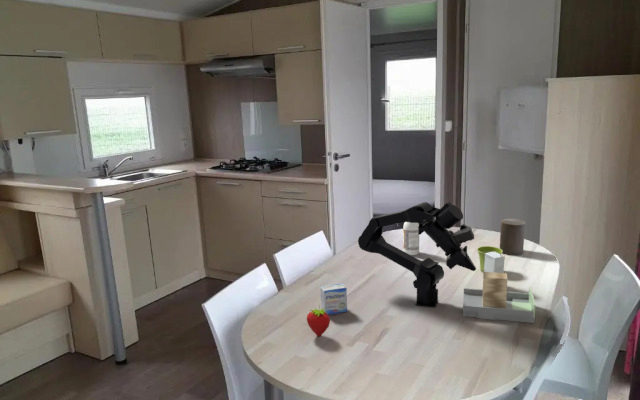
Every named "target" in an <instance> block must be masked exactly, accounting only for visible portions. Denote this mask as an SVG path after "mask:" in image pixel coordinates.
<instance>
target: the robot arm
mask: <svg viewBox="0 0 640 400" xmlns="http://www.w3.org/2000/svg"><path fill="white" fill-rule="evenodd" d="M463 219H464V214H463V211H462V209H460V207H458V206H456V205H455V204H452V203H451V202H450V201H448V202H446V203H444V205H443V206H441V208H438V207H435V206H432V204H430V203H429V202H427V201H425V202H421V203H418V204H416V205H413V206H411V207H409V208H407V209H405V210H399V211H395V212H391V213H385V214H382V215H376V216H374V217H372V218H370V220H369V222H368V224H367V226H366V227H365V228H364V229H363V231H362V233H361V235H360V236H359V237H358V240H357V242H358V247H359V248H360V249H361V250H362V251H365V252H368V253H371V254H378V255H381V256H383V257H384V258H386V259H388V260H390V261H392V262H393V263H395V264H397V265H399V266H401V267H403V268H404V269H407V270H408V271H410V272H412V273H413V275H414V276H415V278H416V279H415V280H414V281H412V285H413V287H414V289H416V300H415V301H416V302H415V305H416V306H420V307H430V308H431V307H432V308H435V307H436V306H437V304H438V302H439V289H438V288H437V284H439V283H440V281H442V279H443V278H444V276H445V271H444V268H443V266H442V265H440V264H439V263H440V262H438V261H434V259H432V258H430V257H427V258H425V259H424V260H421V259H418V258H417V257H415V256H414V255H409V254H407V253H406V252H404V251H403V249H399V248H397V247H396V246H394V245H393V244H391V243H389V242H387V241H386V239H385V238H384V236H383V233H384V227H387V226H391V225H396V224H401V223H405V222H410V223H418V224H419V226H418V229H419V231H418V234H419V236H420V235H422V234H423V233H425V234H426V235H427V236H428V237H429V238H430V239H431V240H432V241H433V242H434V243H435V246H436V248H440V249H441V250H442V252H444V255H445V256H446V261H445V263H446V267H448V268H449V270H452V269H454V268H455V267H457V266H459V267H462V268H465V269H468V270H470V271H472V272H475V271H476V270H477V267H476V265H475V264H474V262H473V261H472V259H471V258H470V256H469V253H468V245H466V246H464V247H463V246H462V244H463V243H464V244H465V243H467V242H469V241H472V240H475V234H474V232H473V229H472V227H471V226H469V225H466V224H465V223H463V224H460V226H459V229H458V230H456V231H455V232H454V231H453V230H451V228H453V227H454V226H455V225H456V224H458V223H459V222H460V221H462V220H463ZM425 221H426V222H425ZM422 222H424V223H422ZM448 229H449V230H448Z"/></svg>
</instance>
